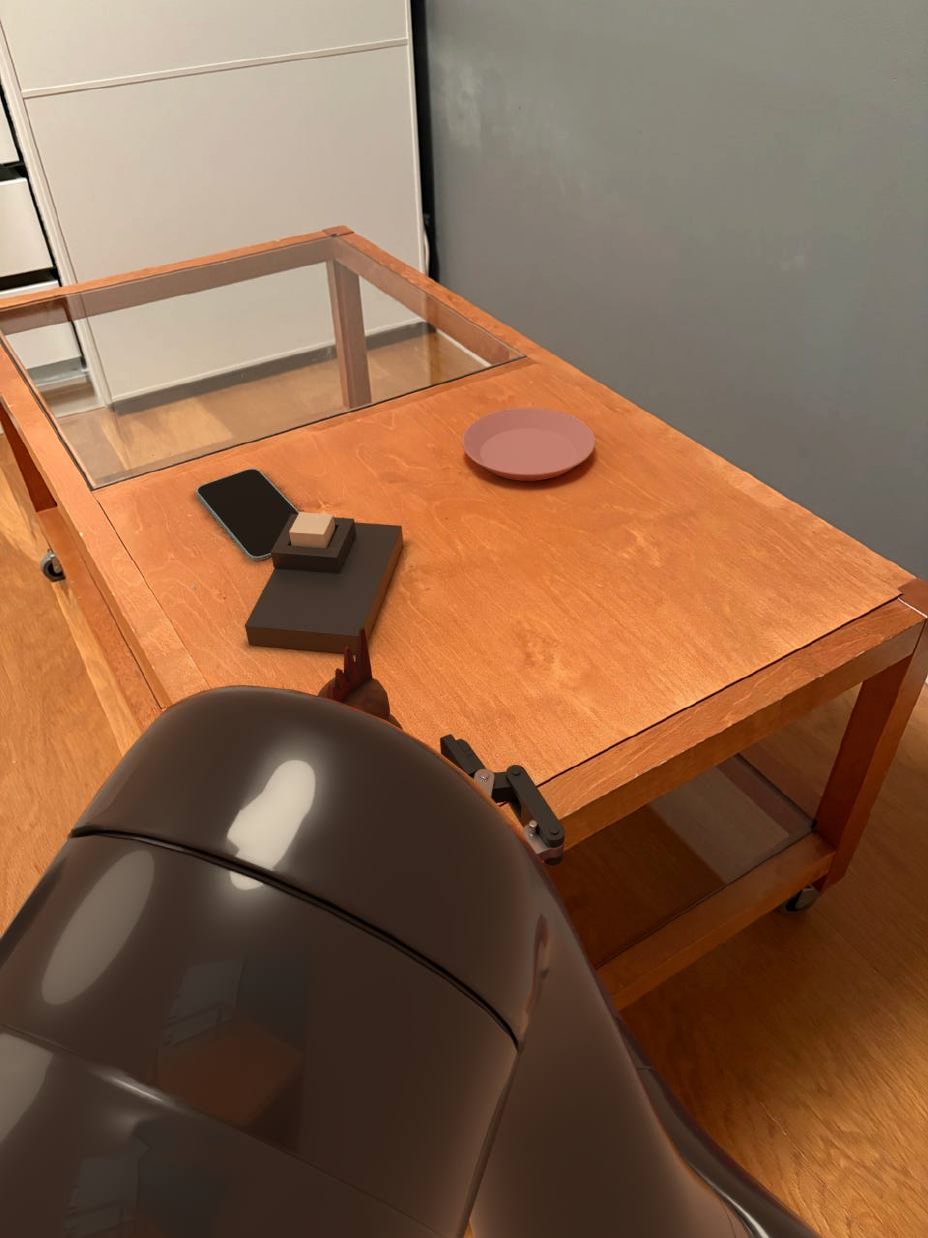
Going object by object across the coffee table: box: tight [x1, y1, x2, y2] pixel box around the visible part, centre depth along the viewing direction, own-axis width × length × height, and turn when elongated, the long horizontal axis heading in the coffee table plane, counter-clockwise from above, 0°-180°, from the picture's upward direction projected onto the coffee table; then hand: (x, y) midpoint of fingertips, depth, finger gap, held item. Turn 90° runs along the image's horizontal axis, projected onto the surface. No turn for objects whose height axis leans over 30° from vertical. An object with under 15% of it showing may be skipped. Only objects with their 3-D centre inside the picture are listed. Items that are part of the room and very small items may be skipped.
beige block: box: [289, 511, 335, 548], centre depth 85 cm, size 3×3×2 cm
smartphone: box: [195, 468, 300, 562], centre depth 96 cm, size 7×1×15 cm
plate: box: [461, 406, 596, 482], centre depth 102 cm, size 14×14×2 cm
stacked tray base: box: [244, 514, 404, 656], centre depth 85 cm, size 10×16×4 cm, turn 170°
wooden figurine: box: [316, 627, 405, 731], centre depth 62 cm, size 7×6×15 cm
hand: (383, 769), depth 58 cm, fingers open, 8 cm apart
